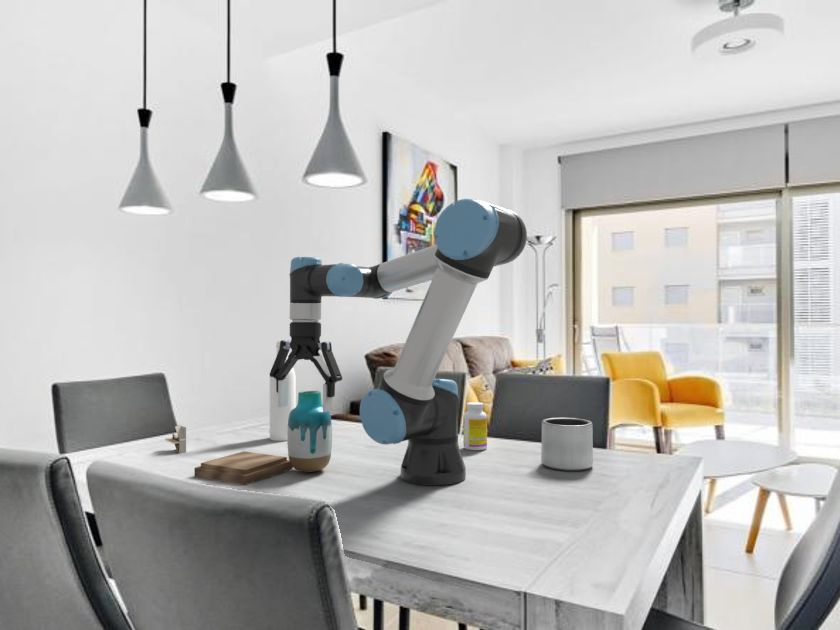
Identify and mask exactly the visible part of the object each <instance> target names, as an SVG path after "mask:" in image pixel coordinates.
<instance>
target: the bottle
mask: <svg viewBox="0 0 840 630" xmlns="http://www.w3.org/2000/svg"><path fill="white" fill-rule="evenodd" d="M280 341H281V340H277V341H276V346H275V347H276V355H277V354H278V352H279V349H280ZM289 354H290V352H289V353H288V355H287V358H286V360H287V359H288V356H289ZM286 360H285V362H286ZM295 371H296V370H295V369H294V367H293V368H292V369H291V370H290V372H289V373H288V375H287V376H286V379H284V380H288V406H284V407H278V393H277V391H276V379H275V378H274V377H270V376H269V432H268V433H269V439H270V441H274V442H284V441H285V442H286V441H287V432H288V418H289V414H290V412H291V410H293V409H294V408H296V406H297V404H296V403H297V402H296V401H297V400H296V398H297V395H296V391H297V388H296V387H297V386H296V385H297V381H296V380H297V377H296V372H295Z"/></svg>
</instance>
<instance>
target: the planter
mask: <svg viewBox="0 0 840 630" xmlns="http://www.w3.org/2000/svg"><path fill="white" fill-rule="evenodd" d="M593 434H594V433H593V421H590V420H588V419H583V418H577V417H549V418H544V419H542V420H541V453H540V454H541V457H540V458H541V459H540V460H541V464H542V465H543V466H545V467H546V468H548V469H552V470H557V471H561V472H562V471H563V472H579V471H580V472H582V471H585V470H588V469H590V468H592V467H593V464H594V447H593V446H594V444H593V443H594V441H593V440H594V439H593Z"/></svg>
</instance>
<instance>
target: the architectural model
mask: <svg viewBox="0 0 840 630" xmlns="http://www.w3.org/2000/svg"><path fill="white" fill-rule="evenodd" d="M174 428H175V431H176V434H177V435H176V434H174V433H171V434H172V435H171V436H172V437H168V438H167V437H166V438H164V441H166V442H168V443H171V444H173V445H174V447H175V450H176V452H177V453H179V454H186V453H187V427H186V426H185V425H181V424H177V425H176V426H174Z"/></svg>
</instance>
